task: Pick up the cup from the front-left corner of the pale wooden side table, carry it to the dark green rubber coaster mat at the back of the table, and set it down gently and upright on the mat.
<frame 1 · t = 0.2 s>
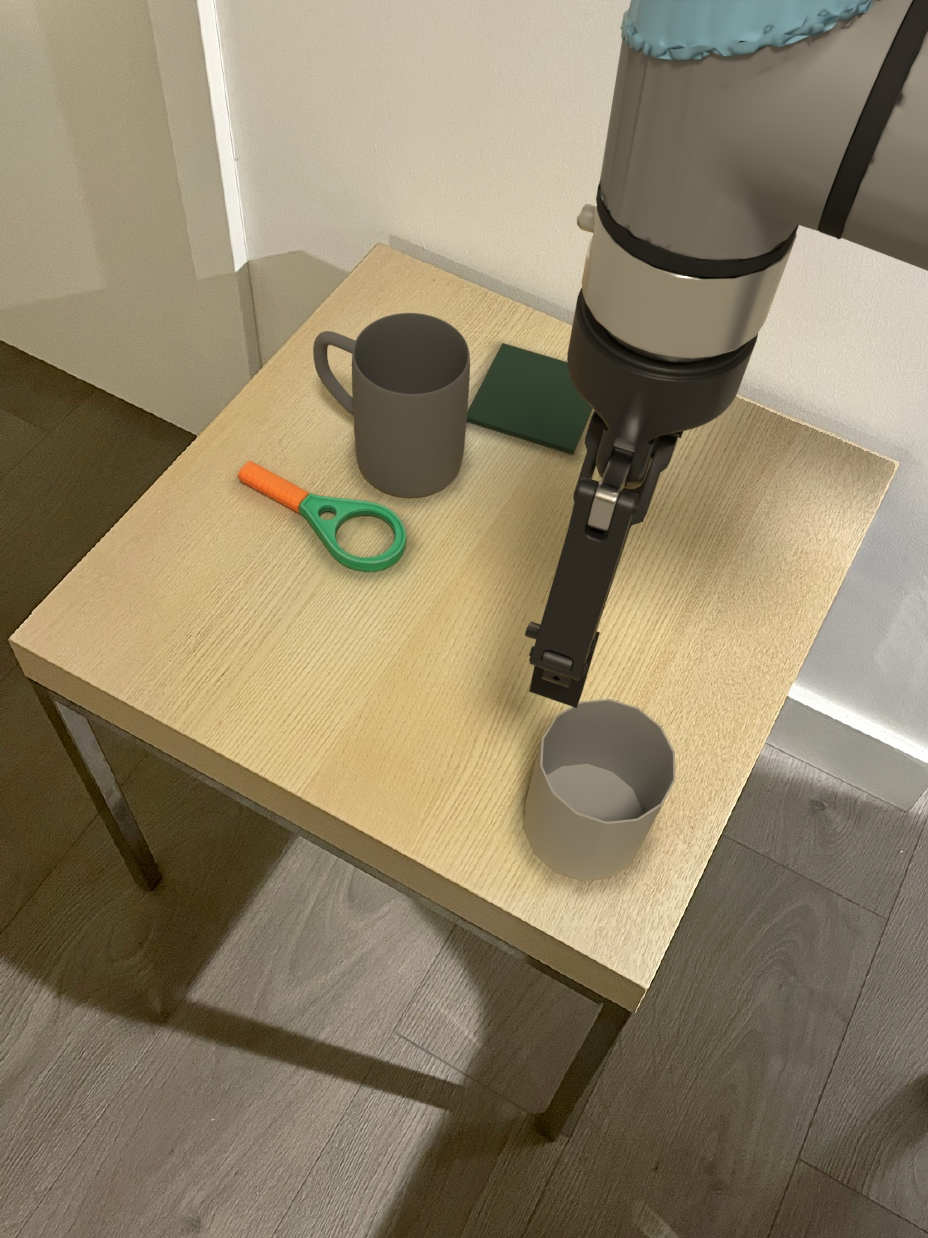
hand: (590, 597, 61), 19 cm above the table, tool pointing down, fingers open, 13 cm apart
cup: (583, 823, 74), on the table
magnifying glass: (321, 519, 87), on the table
mug: (387, 449, 92), on the table
coaster mat: (536, 399, 95), on the table
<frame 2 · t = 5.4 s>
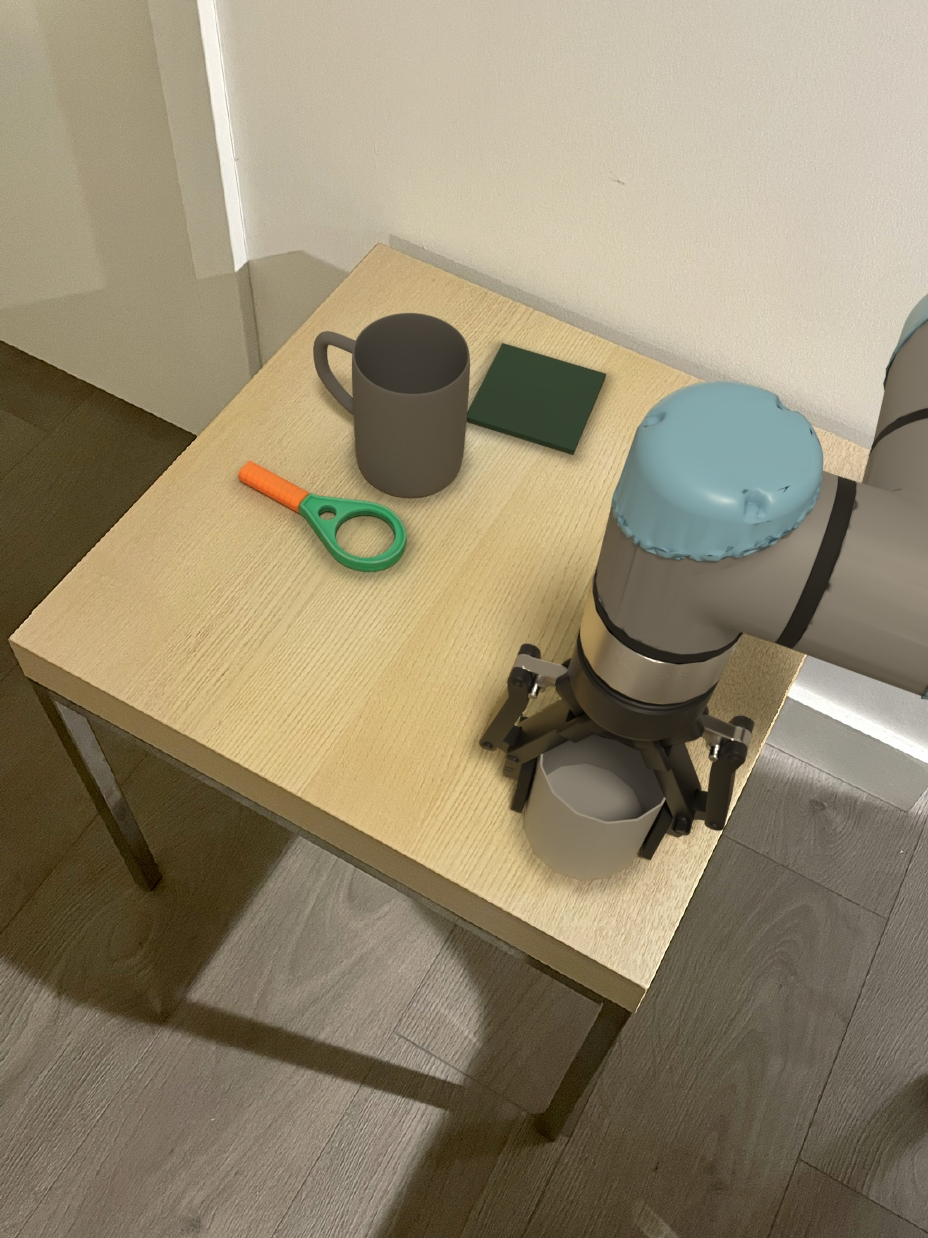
hand: (585, 817, 73), 1 cm above the table, tool pointing down, fingers closed on cup, 8 cm apart
cup: (583, 823, 74), on the table, touching gripper
everything else where it was.
when the fingers open (1 cm above the table, at t = 14.6 s): cup stays where it is, resting on coaster mat.
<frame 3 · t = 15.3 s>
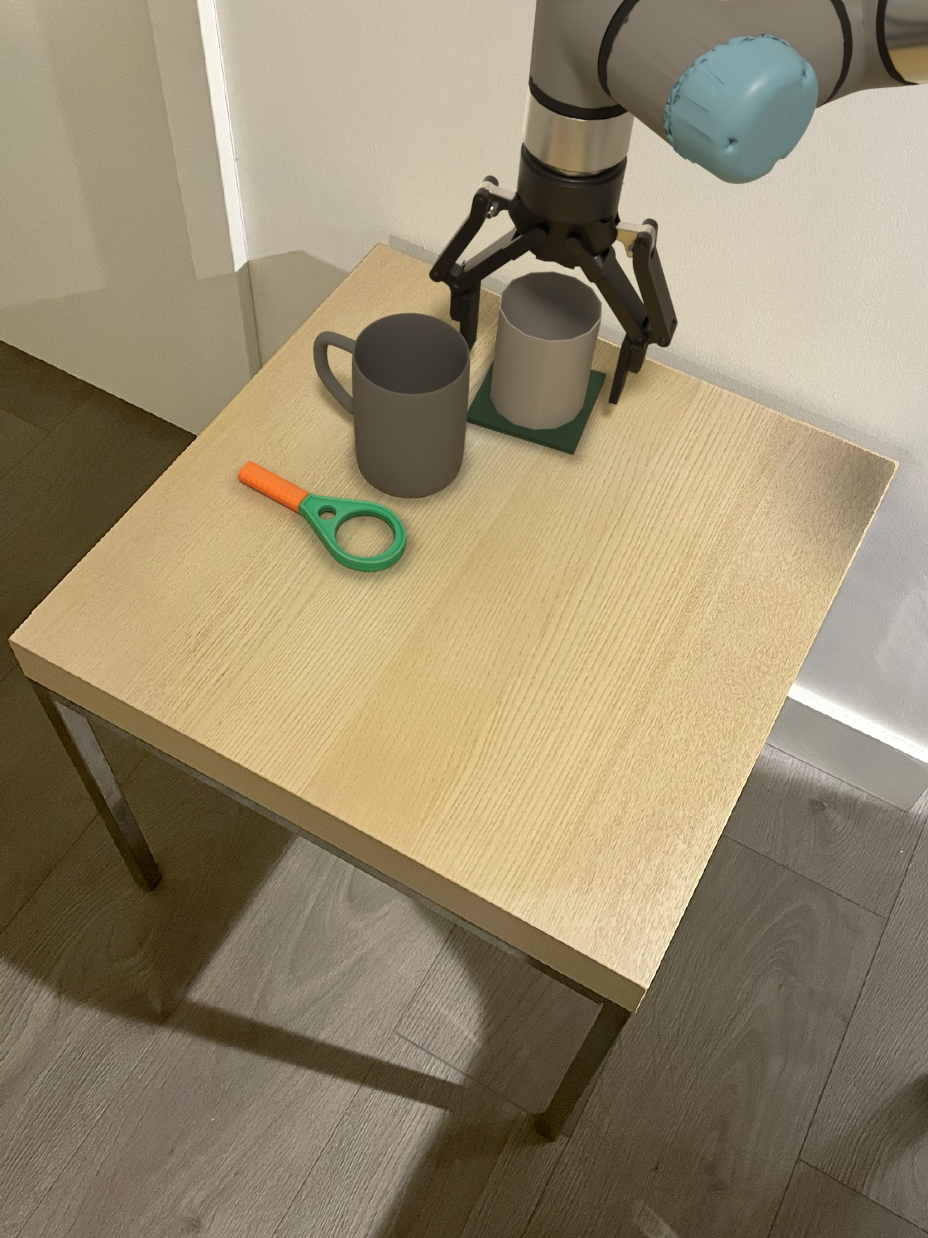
hand: (540, 371, 93), 3 cm above the table, tool pointing down, fingers open, 13 cm apart
cup: (536, 396, 95), resting on coaster mat
everything else where it was.
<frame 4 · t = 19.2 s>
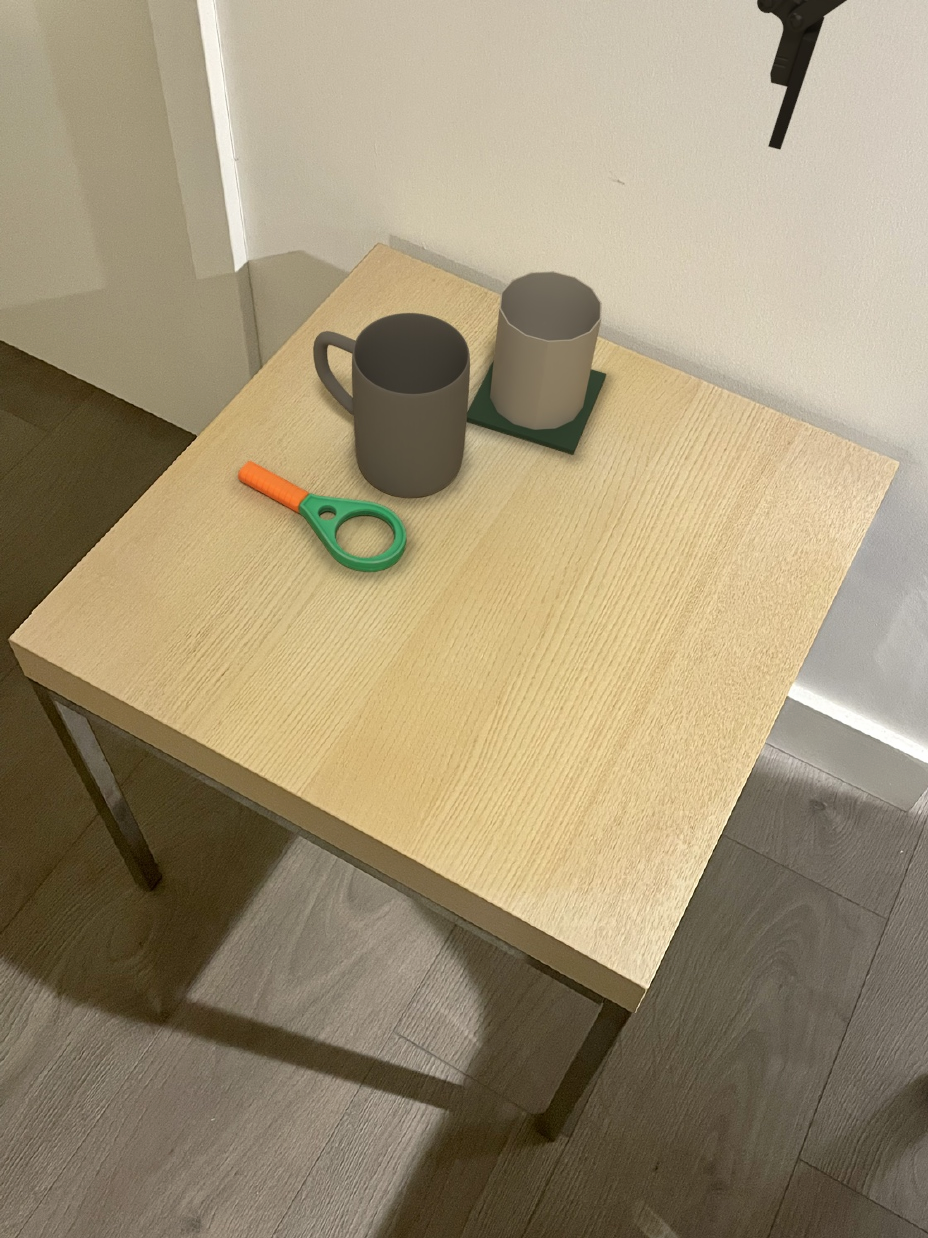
hand: (890, 165, 64), 32 cm above the table, tool pointing down, fingers open, 13 cm apart
nothing on the table moved.
at the end: cup 0.0 cm off-centre on the coaster mat, point 0.4 cm above the coaster mat's base; cup tilted 0°; the gripper is holding nothing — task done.
